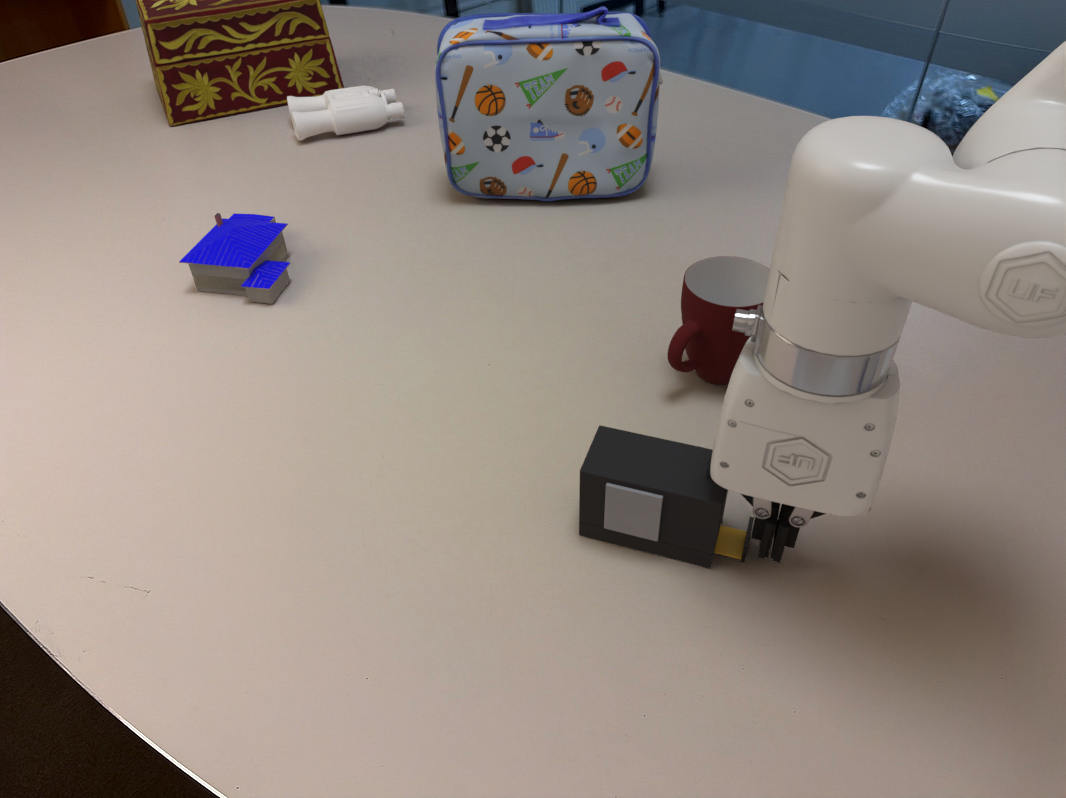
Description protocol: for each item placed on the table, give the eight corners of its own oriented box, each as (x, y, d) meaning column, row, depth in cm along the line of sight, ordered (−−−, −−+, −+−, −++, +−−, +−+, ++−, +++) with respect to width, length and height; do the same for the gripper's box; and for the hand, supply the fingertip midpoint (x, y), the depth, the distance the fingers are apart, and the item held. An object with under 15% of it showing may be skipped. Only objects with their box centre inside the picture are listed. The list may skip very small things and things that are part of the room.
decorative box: (169, 127, 123) (134, 23, 113) (156, 88, 136) (124, -9, 126) (346, 94, 131) (328, -7, 122) (318, 60, 144) (299, -33, 134)
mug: (711, 426, 70) (726, 333, 63) (638, 385, 74) (645, 294, 68) (778, 370, 75) (798, 278, 69) (707, 335, 80) (719, 245, 73)
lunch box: (652, 166, 108) (665, -13, 94) (664, 202, 101) (681, 13, 86) (447, 174, 108) (428, -4, 94) (443, 212, 100) (422, 24, 86)
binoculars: (290, 120, 124) (283, 89, 121) (393, 104, 127) (389, 74, 124) (298, 147, 116) (291, 115, 113) (407, 129, 120) (403, 98, 117)
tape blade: (750, 534, 61) (754, 517, 59) (744, 563, 59) (748, 545, 57) (624, 504, 63) (625, 486, 62) (615, 531, 61) (616, 513, 60)
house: (326, 239, 96) (316, 196, 92) (274, 307, 86) (261, 261, 82) (239, 232, 98) (226, 189, 94) (178, 297, 88) (160, 252, 84)
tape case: (723, 516, 62) (735, 451, 58) (710, 572, 58) (722, 507, 54) (597, 486, 65) (600, 422, 60) (577, 538, 61) (578, 473, 56)
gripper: (681, 356, 46) (657, 559, 58) (968, 410, 42) (878, 616, 54) (706, 286, 51) (679, 485, 63) (962, 328, 47) (881, 532, 59)
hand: (771, 545), depth 59 cm, fingers closed
